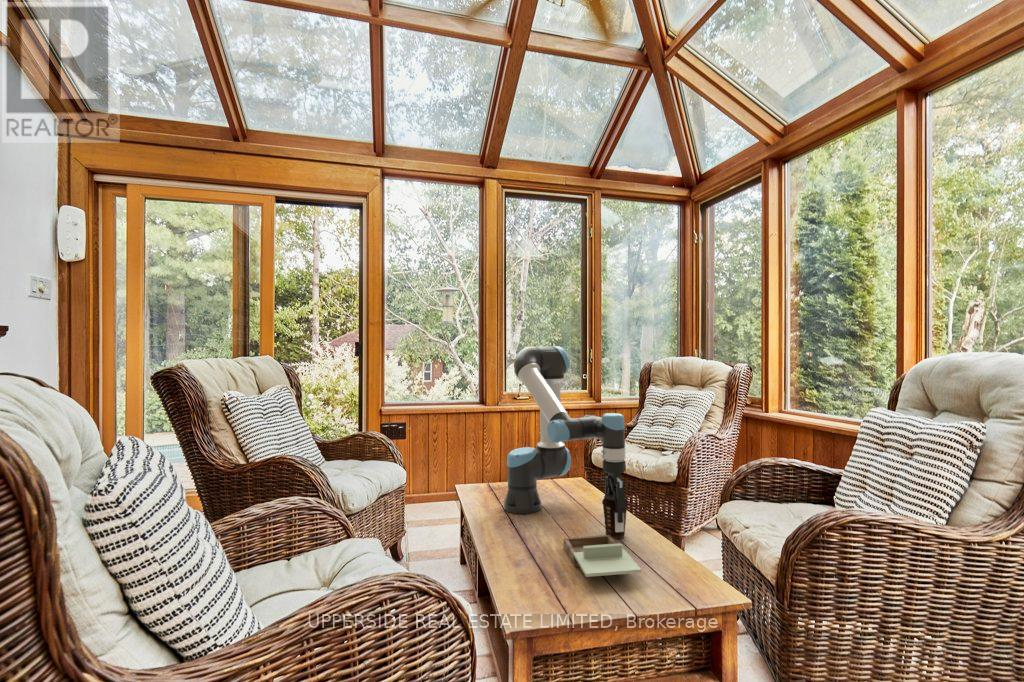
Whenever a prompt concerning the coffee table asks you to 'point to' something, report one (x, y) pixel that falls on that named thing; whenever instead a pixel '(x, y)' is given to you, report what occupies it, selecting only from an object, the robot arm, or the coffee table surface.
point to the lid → (605, 560)
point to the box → (578, 543)
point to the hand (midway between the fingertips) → (615, 526)
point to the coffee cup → (611, 516)
